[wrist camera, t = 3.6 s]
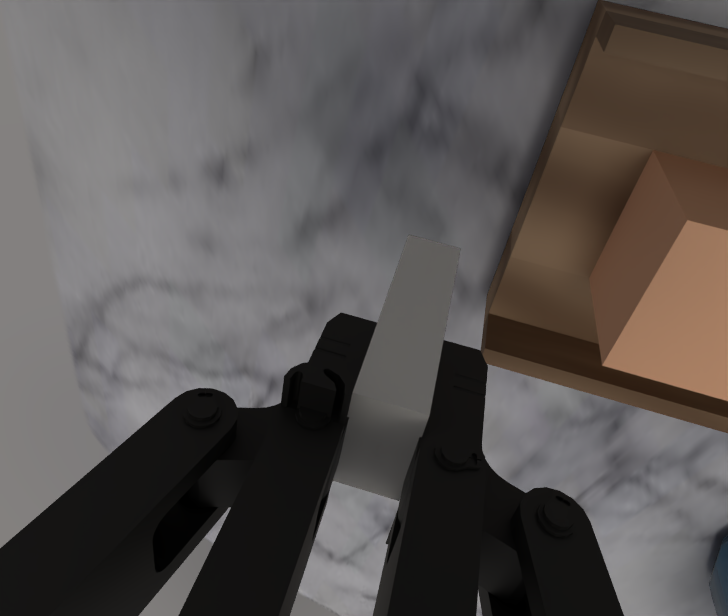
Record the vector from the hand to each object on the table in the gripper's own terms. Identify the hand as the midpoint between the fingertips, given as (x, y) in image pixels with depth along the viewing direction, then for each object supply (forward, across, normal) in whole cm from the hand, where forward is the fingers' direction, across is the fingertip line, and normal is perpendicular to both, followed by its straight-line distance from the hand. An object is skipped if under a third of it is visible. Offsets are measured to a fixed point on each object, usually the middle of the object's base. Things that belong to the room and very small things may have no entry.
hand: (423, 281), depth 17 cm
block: (+7, +9, 0) cm, 12 cm away
